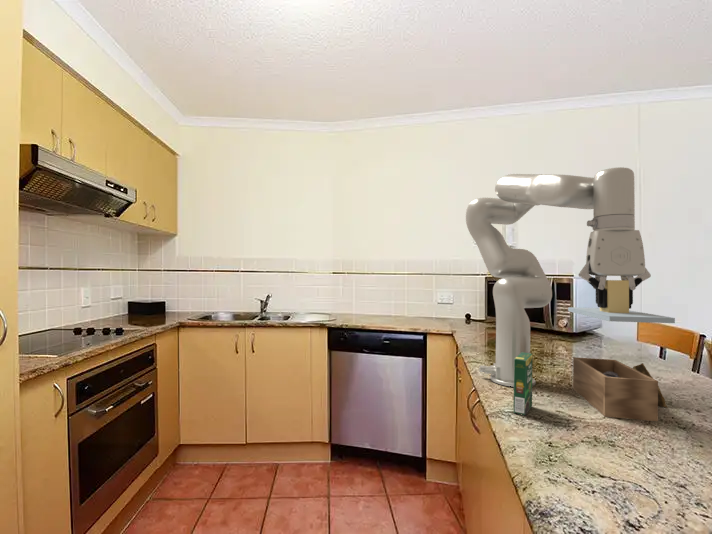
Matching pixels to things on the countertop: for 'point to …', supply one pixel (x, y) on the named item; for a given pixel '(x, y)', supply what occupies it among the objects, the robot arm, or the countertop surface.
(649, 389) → the crate
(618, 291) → the lid
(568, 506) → the countertop surface
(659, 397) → the rock
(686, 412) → the countertop surface
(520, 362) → the coffee box
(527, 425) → the countertop surface
